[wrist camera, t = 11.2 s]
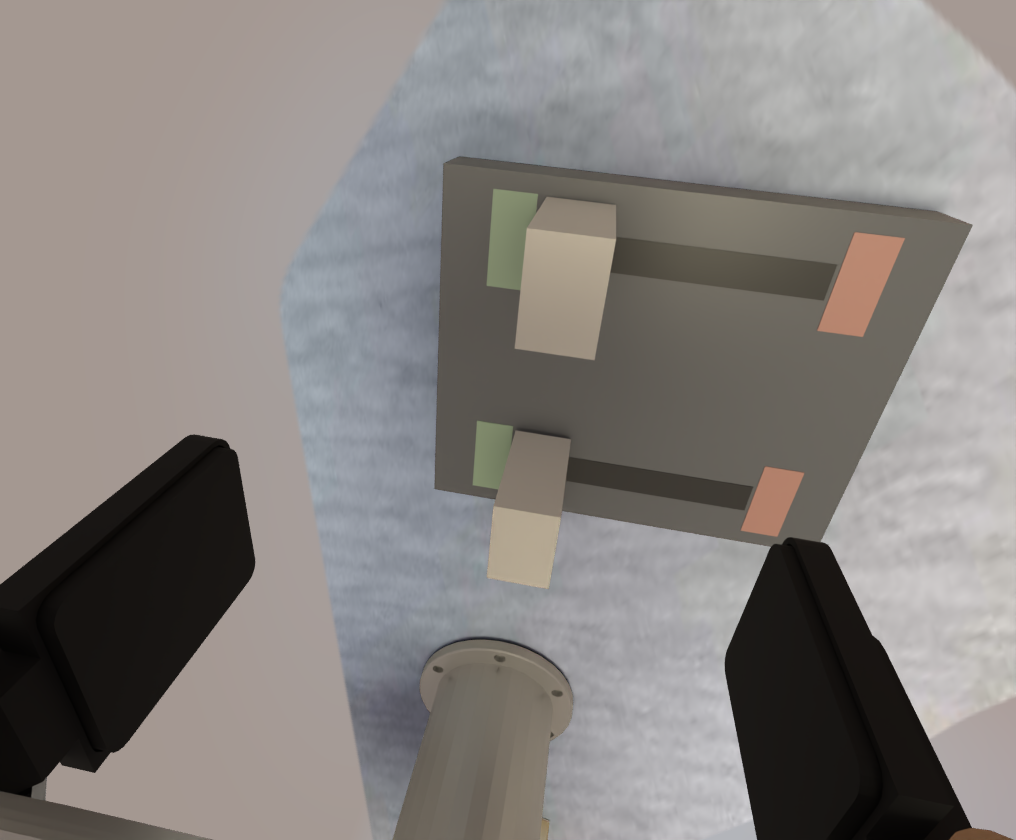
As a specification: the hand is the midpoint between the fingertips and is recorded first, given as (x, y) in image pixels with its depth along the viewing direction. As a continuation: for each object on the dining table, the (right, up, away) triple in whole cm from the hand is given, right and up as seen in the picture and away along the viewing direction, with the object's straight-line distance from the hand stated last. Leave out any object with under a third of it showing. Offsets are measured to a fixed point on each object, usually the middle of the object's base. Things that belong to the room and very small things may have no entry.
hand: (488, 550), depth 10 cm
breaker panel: (+8, +6, +21) cm, 24 cm away
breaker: (+2, 0, +22) cm, 22 cm away
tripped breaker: (+3, +10, +16) cm, 19 cm away
